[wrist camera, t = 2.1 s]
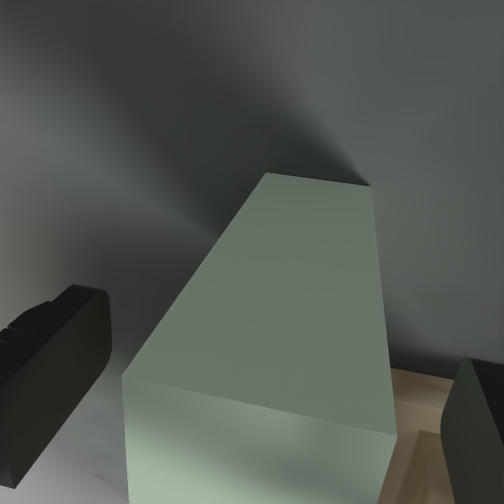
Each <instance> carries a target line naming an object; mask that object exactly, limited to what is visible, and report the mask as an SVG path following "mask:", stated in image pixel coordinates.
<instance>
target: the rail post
mask: <svg viewBox="0 0 504 504" xmlns="http://www.w3.org/2000/svg"><path fill="white" fill-rule="evenodd" d="M121 378H122V394H123V410H124V426H125V443H126V459H127V475H128V491H129V504H377V501H378V498H379V495H380V492H381V488H382V485H383V482H384V479H385V475H386V472H387V469H388V466H389V462H390V459H391V456H392V453H393V449H394V446H395V443H396V440H397V426H396V417H395V408H394V398H393V389H392V379H391V370H390V361H389V351H388V342H387V333H386V323H385V314H384V305H383V295H382V286H381V277H380V267H379V258H378V248H377V239H376V230H375V220H374V211H373V202H372V192H371V187H370V186H363V185H355V184H348V183H341V182H333V181H326V180H318V179H311V178H304V177H296V176H289V175H282V174H274V173H267V172H266V173H265V175H264V176H263V177H262V179H261V180H260V182H259V183H258V184H257V186H256V187H255V189H254V190H253V192H252V193H251V194H250V196H249V197H248V199H247V200H246V201H245V203H244V204H243V206H242V207H241V208H240V210H239V211H238V213H237V214H236V215H235V217H234V218H233V220H232V221H231V222H230V224H229V225H228V227H227V228H226V230H225V231H224V232H223V234H222V235H221V237H220V238H219V239H218V241H217V242H216V244H215V245H214V246H213V248H212V249H211V251H210V252H209V253H208V255H207V256H206V258H205V259H204V260H203V262H202V263H201V265H200V266H199V267H198V269H197V270H196V272H195V273H194V275H193V276H192V277H191V279H190V280H189V282H188V283H187V284H186V286H185V287H184V289H183V290H182V291H181V293H180V294H179V296H178V297H177V298H176V300H175V301H174V303H173V304H172V305H171V307H170V308H169V310H168V311H167V313H166V314H165V315H164V317H163V318H162V320H161V321H160V322H159V324H158V325H157V327H156V328H155V329H154V331H153V332H152V334H151V335H150V336H149V338H148V339H147V341H146V342H145V343H144V345H143V346H142V348H141V349H140V350H139V352H138V353H137V355H136V356H135V358H134V359H133V360H132V362H131V363H130V365H129V366H128V367H127V369H126V370H125V372H124V373H123V374H122V376H121Z"/></svg>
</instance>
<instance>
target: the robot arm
mask: <svg viewBox="0 0 504 504" xmlns="http://www.w3.org/2000/svg"><path fill="white" fill-rule="evenodd" d="M111 350H112V333H111V319H110V305H109V296H108V293H107V292H106V291H105V290H102V289H97V288H91V287H86V286H80V285H71V286H70V287H68V288H67V289H66V290H65V291H64V292H62V293H61V294H60V295H59V296H58V297H57V298H56V299H54V300H53V301H52V302H50V301H46V302H44V303H42V304H40V305H38V306H35V307H33V308H31V309H29V310H27V311H25V312H23V313H22V314H21V315H20V316H19V317H17V318H16V319H15V320H14V321H13V322H11V323H10V324H9V325H8V328H7V329H6V328H4V329H3V330H2V331H1V332H0V485H1V486H5V487H9V488H13V489H15V488H16V487H17V485H18V484H19V483H20V481H21V480H22V479H23V477H24V476H25V475H26V473H27V472H28V471H29V469H30V468H31V467H32V465H33V464H34V462H35V461H36V460H37V459H38V457H39V456H40V455H41V453H42V452H43V451H44V449H45V448H46V447H47V445H48V444H49V443H50V441H51V440H52V439H53V437H54V436H55V435H56V433H57V432H58V431H59V429H60V428H61V427H62V425H63V424H64V423H65V421H66V420H67V419H68V417H69V416H70V414H71V413H72V412H73V410H74V409H75V408H76V406H77V405H78V404H79V402H80V401H81V400H82V398H83V397H84V396H85V394H86V393H87V392H88V390H89V389H90V388H91V386H92V385H93V384H94V382H95V381H96V380H97V378H98V377H99V376H100V374H101V373H102V372H103V370H104V369H105V367H106V366H107V363H108V361H109V358H110V355H111ZM440 436H441V443H442V448H443V452H444V456H445V461H446V465H447V470H448V474H449V478H450V483H451V487H452V492H453V496H454V500H455V504H504V364H500V363H494V362H489V361H483V360H478V359H472V358H467V357H466V358H464V359H463V360H462V362H461V363H460V366H459V368H458V371H457V374H456V376H455V379H454V382H453V384H452V387H451V390H450V393H449V395H448V398H447V401H446V403H445V406H444V409H443V412H442V416H441V424H440Z"/></svg>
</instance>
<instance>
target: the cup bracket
mask: <svg viewBox="0 0 504 504" xmlns="http://www.w3.org/2000/svg"><path fill="white" fill-rule="evenodd" d="M390 370H391V379H392V389H393V398H394V408H395V417H396V426H397V440H396V443H395V446H394V449H393V453H392V456H391V459H390V462H389V466H388V469H387V472H386V475H385V479H384V482H383V485H382V488H381V492H380V495H379V498H378V501H377V504H455V500H454V496H453V492H452V487H451V483H450V478H449V474H448V470H447V465H446V461H445V456H444V452H443V448H442V443H441V436H440V424H441V416H442V412H443V409H444V406H445V403H446V401H447V398H448V395H449V393H450V390H451V387H452V384H453V382H454V380H451V379H446V378H441V377H436V376H431V375H426V374H421V373H416V372H410V371H405V370H400V369H395V368H390Z"/></svg>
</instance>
